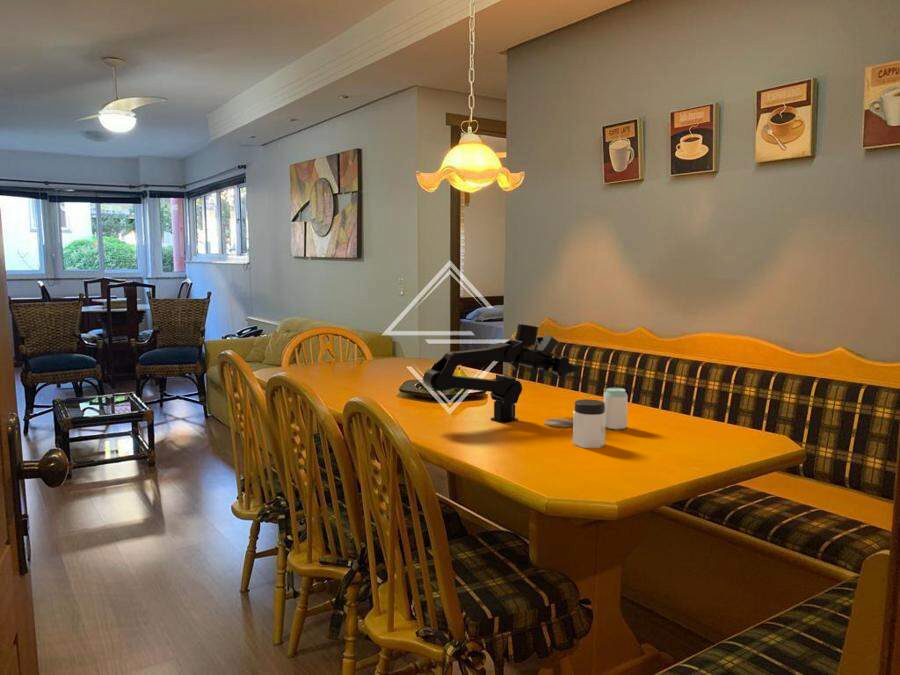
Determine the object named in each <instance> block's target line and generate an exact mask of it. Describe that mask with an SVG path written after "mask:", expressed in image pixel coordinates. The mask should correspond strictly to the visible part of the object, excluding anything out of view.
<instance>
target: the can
mask: <svg viewBox="0 0 900 675" xmlns="http://www.w3.org/2000/svg"><path fill="white" fill-rule="evenodd" d="M605 389H606V390H605V392H604V393H603V402H604V403H605V412H606V424H605V429H607V428H608V429H607V430H610V429H614V430H613V431H622V430H621V429H623V430H624V429H626V428H627V427H628V404H629V403H628V397H629V396H628V393H627V392H626V389H625V388H622V387H607V388H605Z"/></svg>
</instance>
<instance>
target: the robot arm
mask: <svg viewBox="0 0 900 675" xmlns="http://www.w3.org/2000/svg"><path fill="white" fill-rule="evenodd" d="M538 333H539V327H538V326H534V325H530V324H529V325H528V324H522V323H518V324H517V331H516V334H515V339H514V338H510V339H508V340H507V341H505V342H498V343H495V344H491V345H490V346H488V347H484V348H478V349H477V348H475V349H468V350H458V351H457V350H456V351H447V352H445V354H444V355H443V356H442V357H441V358H440V359H439V360H438V361H436V363H434V364H433V365H432V366H431V368H429V369H427V370H426V371H425V373H423V377H422V381H423V384H424V385H425V387H427V388H428V389H429V388H430V389H432V390H435V391H438V392H441V391H442V392H443V391H450V390H454V389H458V390H459V389H460V390H470V391H481V392H490V398H491V400H492V401H494V402H493V417H490V420H491V421H495V422H498V423H501V424H506V423H511V422H516V421H519V418H517V417H516V404H517V403H518V402H519V398H520V395H521V394H522V391H523V384H522V383H521V381H519V380H518V379H517V378H516V377H513V376H510V375H507V374H504V375H500V374H497V373H496V374H495V378H491V379H489V378H481V377H471V376H464V375H462V376H461V375H454V373H455V371H456V368H457V367H458V366H459V365H465V364H473V363H482V362H484V363H485V362H498V363H499V362H500V363H508V364H509V366H510V368H511V369H512V370H515V371H518V370H519V366H524V367H528V368H534V369H536V370H542V371H545V372H549V369H552V370H551V371H552V374H553V375H556V376H558V377H564V378H565V376H566V375H569V374H573V373H574V372H579V367H578V366H576V365H574V364H573V363H570V362H569V361H570V357H567V356H563V355H559V354H558V355H557V356H555V357H554V353H553V351H554V349H555V348H556V345H558V344H559V340H557V339H555V338H554V337H553V336H552V335H549V334H544V335H542V336H538ZM536 344H537V345H536ZM535 345H536V346H537V348H532V349H531V347H532V346H535ZM525 346H526V347H525ZM527 347H530V348H527Z"/></svg>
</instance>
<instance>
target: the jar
mask: <svg viewBox="0 0 900 675" xmlns="http://www.w3.org/2000/svg"><path fill="white" fill-rule="evenodd" d="M572 412H573V414H572V416H573V417H572V420H573V427H572V445H573V444H574V446H576V445H577V447H579V448H582V449H601V448H602V447H604V446H605V445H606V427H605V424H606V412H605V403H604V401H602V400H600V399H587V398H586V399H579V400H578V399H577V400H575V401H574V411H572Z"/></svg>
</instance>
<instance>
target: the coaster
mask: <svg viewBox="0 0 900 675" xmlns="http://www.w3.org/2000/svg"><path fill="white" fill-rule="evenodd" d="M544 423H545V424H544V425H545V426H547V425H548V426H547V427H550V426H552V427H551V428H555V427H560V428H559V429H566V428H565V427H570V428H573V419H569V418H558V417H557V418H556V417H555V418H550V419H545V421H544Z"/></svg>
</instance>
